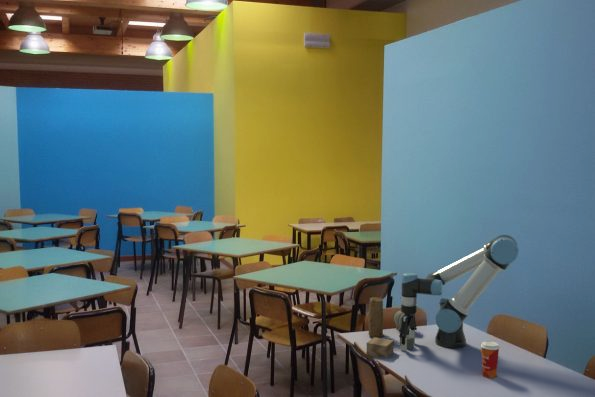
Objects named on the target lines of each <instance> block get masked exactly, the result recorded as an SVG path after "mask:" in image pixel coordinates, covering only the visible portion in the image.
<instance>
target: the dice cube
mask: <svg viewBox="0 0 595 397" xmlns="http://www.w3.org/2000/svg"><path fill="white" fill-rule="evenodd" d="M406 338H407V350H408V349H414V348H415V343H414V338H413V337H411V336H409V334H407V336H406ZM399 347H401V337H399Z"/></svg>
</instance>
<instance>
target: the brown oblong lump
mask: <svg viewBox="0 0 595 397" xmlns="http://www.w3.org/2000/svg"><path fill="white" fill-rule="evenodd" d="M368 305H369V306H368V336H369V337H370V338H374V337H376V338H382V337H383V335H384V334H383V333H384V301H383V298H382V297H380V296H375V297H374V296H373V297H370V298H369V303H368Z"/></svg>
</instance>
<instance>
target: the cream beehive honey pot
mask: <svg viewBox="0 0 595 397" xmlns="http://www.w3.org/2000/svg"><path fill="white" fill-rule="evenodd" d="M404 315H405V314H404V313H402V312H401V310H398V311H397V312H395V314H394V315H393V316H394V317H393V320H394V323H395V327H396V328H395V329H396V330H401V324H402V317H404ZM409 330H411V329H410V327H408V331H409Z"/></svg>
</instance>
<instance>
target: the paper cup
mask: <svg viewBox="0 0 595 397" xmlns="http://www.w3.org/2000/svg"><path fill="white" fill-rule="evenodd" d="M480 348H481V370H482V376H483V377H484V378H487V379H494V378H496V377H497V372H498V363H499V360H498V359H499V350H500V345H499V344H498V342H494V341H482V342H481V344H480Z"/></svg>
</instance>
